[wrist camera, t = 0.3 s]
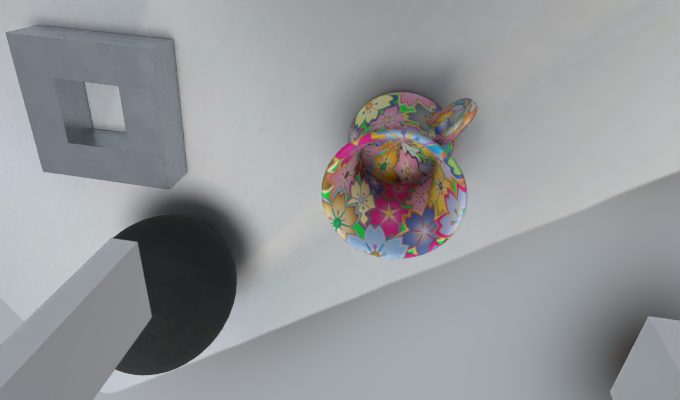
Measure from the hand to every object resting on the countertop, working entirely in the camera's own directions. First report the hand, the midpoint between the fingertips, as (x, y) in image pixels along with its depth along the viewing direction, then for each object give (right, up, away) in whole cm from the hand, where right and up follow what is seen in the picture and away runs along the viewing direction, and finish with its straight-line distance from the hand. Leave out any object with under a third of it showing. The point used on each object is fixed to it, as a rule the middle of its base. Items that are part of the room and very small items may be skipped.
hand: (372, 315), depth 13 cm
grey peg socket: (-21, +12, +29) cm, 38 cm away
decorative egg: (-15, -1, +36) cm, 39 cm away
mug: (+5, +9, +26) cm, 28 cm away
